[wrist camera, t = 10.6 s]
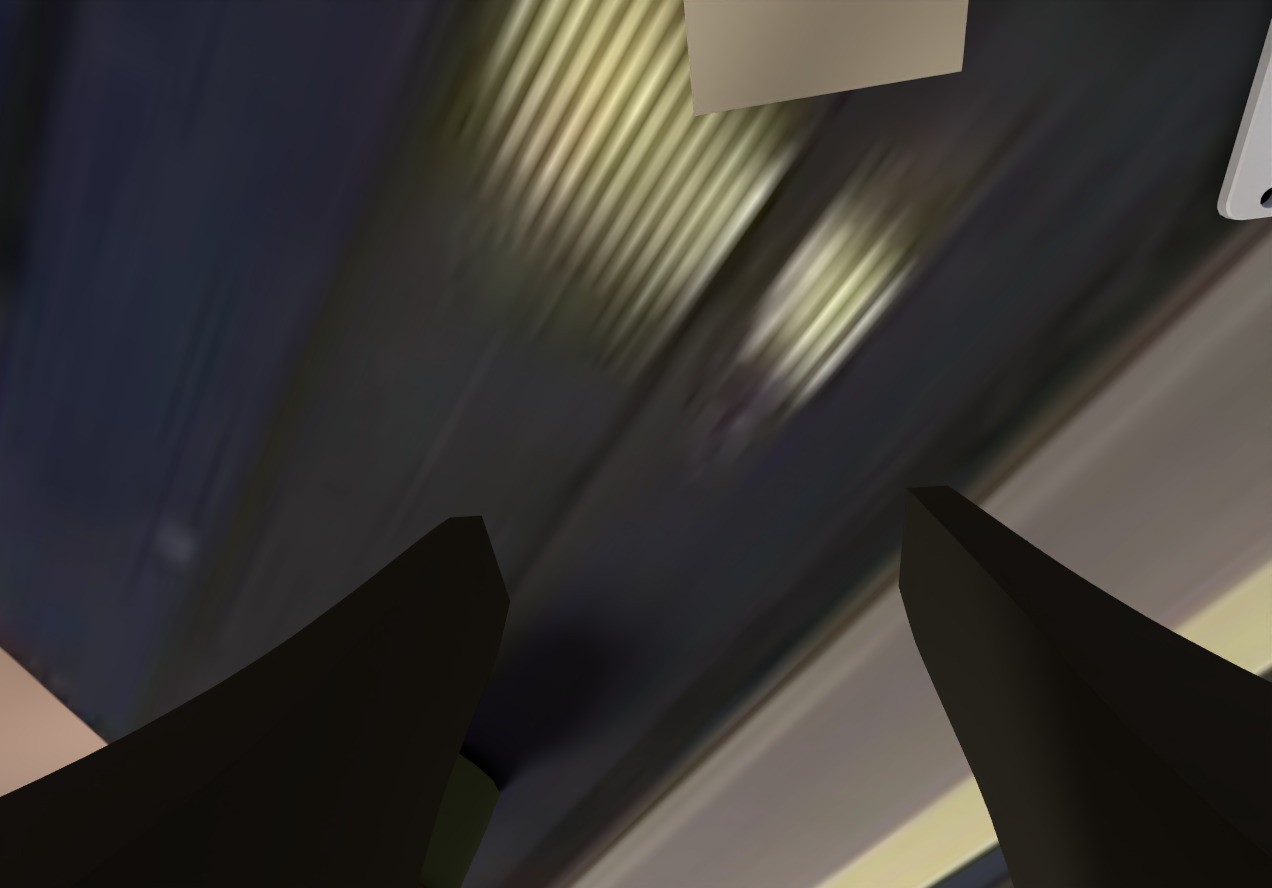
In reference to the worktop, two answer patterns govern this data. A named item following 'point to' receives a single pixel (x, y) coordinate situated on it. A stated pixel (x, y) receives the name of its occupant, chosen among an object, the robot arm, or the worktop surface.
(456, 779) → the character mug
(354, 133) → the worktop surface
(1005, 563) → the robot arm
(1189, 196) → the worktop surface
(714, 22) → the stone block
